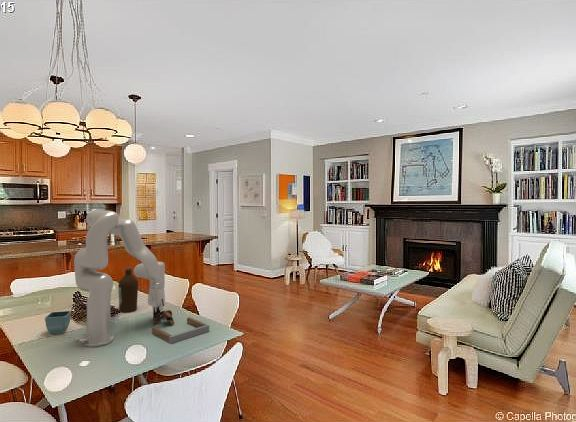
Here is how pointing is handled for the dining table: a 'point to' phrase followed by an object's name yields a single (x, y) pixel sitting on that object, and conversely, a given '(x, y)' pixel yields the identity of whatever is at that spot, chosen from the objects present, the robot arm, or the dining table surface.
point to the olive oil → (128, 292)
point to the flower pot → (58, 322)
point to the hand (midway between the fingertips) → (156, 318)
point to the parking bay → (171, 339)
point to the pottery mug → (164, 317)
